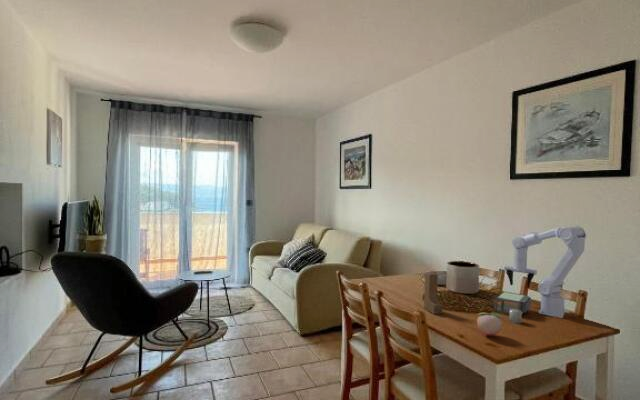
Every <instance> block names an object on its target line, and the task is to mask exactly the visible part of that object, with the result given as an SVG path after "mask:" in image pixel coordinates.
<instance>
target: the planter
mask: <svg viewBox="0 0 640 400" xmlns="http://www.w3.org/2000/svg"><path fill="white" fill-rule="evenodd" d="M446 272H447V278H446V285H445V287H446V289H447V290H448V291H450V292H452V293H456V294H460V295H474V294H477V293H478V292H479V291H480V264H477V263H474V262H469V261H464V260H463V261H462V260H454V261H453V260H451V261H447V262H446Z"/></svg>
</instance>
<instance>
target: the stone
mask: <svg viewBox="0 0 640 400" xmlns="http://www.w3.org/2000/svg"><path fill="white" fill-rule="evenodd" d="M508 316H509V319H508V320H509V322H510V323H512V324H519V325H520V324H522V322H523V321H522V318H523V317H522V316H523V315H522V311H521V310H518V309H510V311H509V315H508Z"/></svg>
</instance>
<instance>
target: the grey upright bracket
mask: <svg viewBox="0 0 640 400" xmlns="http://www.w3.org/2000/svg"><path fill="white" fill-rule="evenodd" d="M437 277H438V275H437V274H436V273H433V272H431V271H429V272H426V271H425V272H424V298H423V299H424V301H423V303H424V304H423V305H424V307H423V308H424V309H425V310H426V311H427V312H429V313H431V314H432V315H442V314H443V303H441V302H440V300H439V297H438V285H437Z"/></svg>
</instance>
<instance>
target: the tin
mask: <svg viewBox="0 0 640 400" xmlns="http://www.w3.org/2000/svg"><path fill="white" fill-rule="evenodd" d="M430 272H433V273H436V274H437V275H438V277H437V286H446V278H447V270H446V271H445V270H432V271H430Z"/></svg>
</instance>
